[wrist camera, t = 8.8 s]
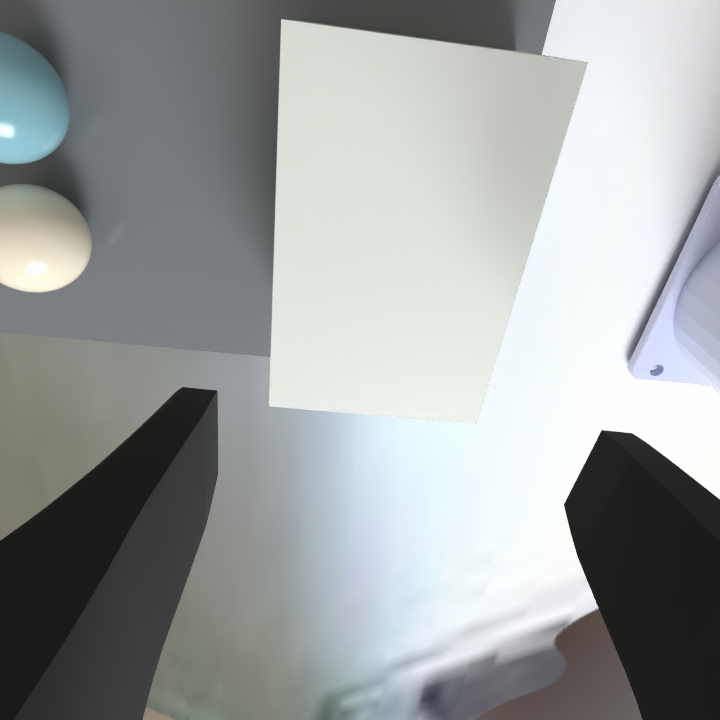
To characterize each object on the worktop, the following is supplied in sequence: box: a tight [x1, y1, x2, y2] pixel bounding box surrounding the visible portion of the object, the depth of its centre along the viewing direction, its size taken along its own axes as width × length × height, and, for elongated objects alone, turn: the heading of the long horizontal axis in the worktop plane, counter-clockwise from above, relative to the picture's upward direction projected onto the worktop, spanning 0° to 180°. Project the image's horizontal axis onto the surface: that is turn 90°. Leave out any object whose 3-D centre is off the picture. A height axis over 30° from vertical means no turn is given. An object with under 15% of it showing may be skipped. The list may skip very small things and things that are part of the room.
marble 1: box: [0, 31, 70, 164], centre depth 13 cm, size 3×3×3 cm
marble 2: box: [0, 184, 92, 292], centre depth 15 cm, size 3×3×3 cm
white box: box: [269, 19, 588, 424], centre depth 14 cm, size 6×9×5 cm, turn 173°
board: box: [0, 0, 556, 357], centre depth 16 cm, size 18×12×1 cm, turn 83°
